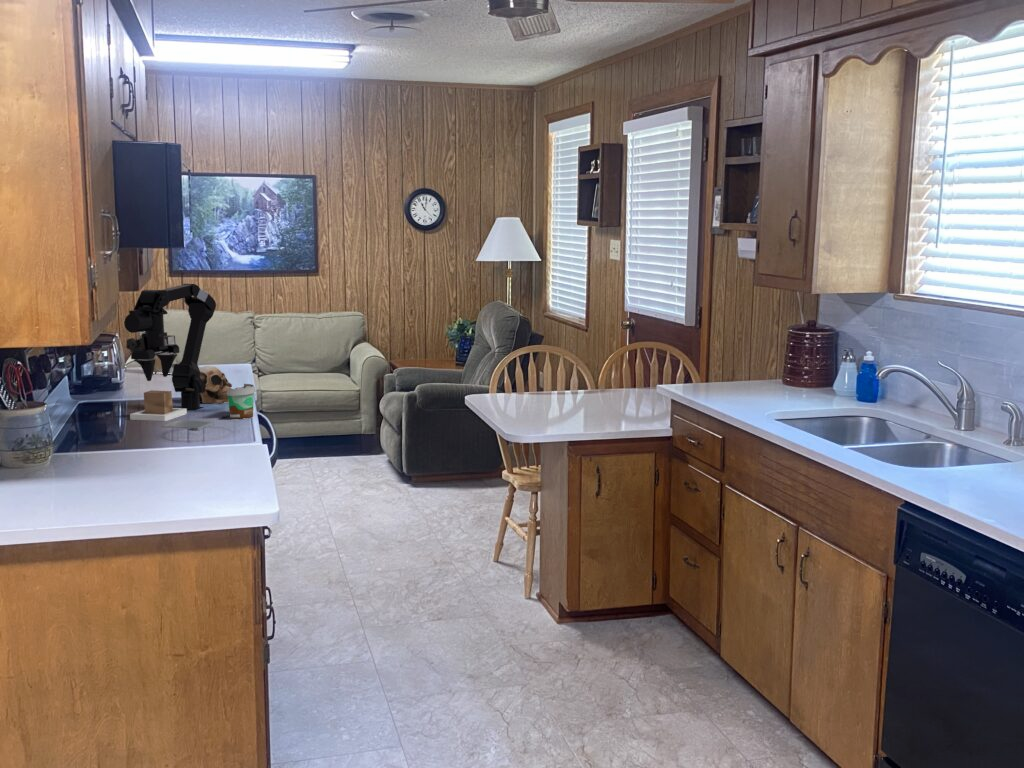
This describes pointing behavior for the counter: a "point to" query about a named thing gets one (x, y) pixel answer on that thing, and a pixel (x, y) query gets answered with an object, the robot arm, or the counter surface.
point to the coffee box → (157, 367)
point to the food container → (241, 401)
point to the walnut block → (158, 402)
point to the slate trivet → (189, 424)
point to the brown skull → (214, 385)
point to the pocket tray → (156, 417)
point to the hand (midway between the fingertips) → (157, 378)
